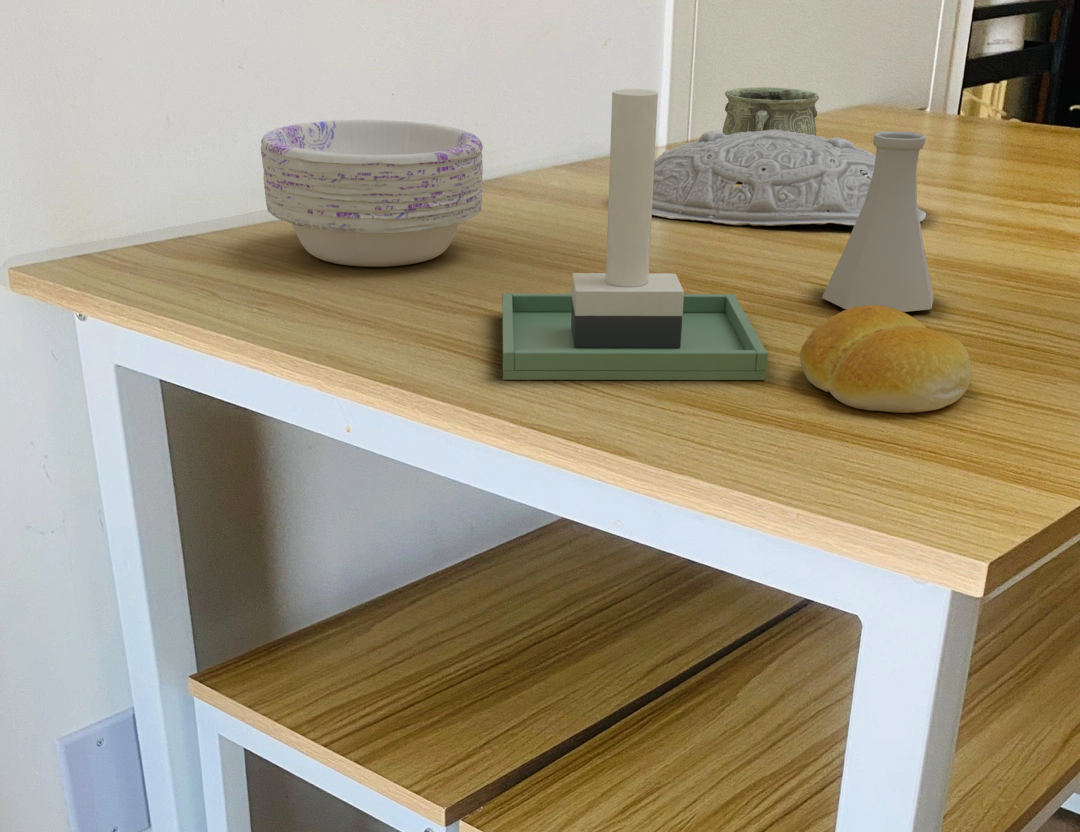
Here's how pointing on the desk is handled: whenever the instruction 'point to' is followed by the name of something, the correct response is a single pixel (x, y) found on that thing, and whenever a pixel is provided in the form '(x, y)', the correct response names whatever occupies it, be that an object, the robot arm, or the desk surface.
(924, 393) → the bread roll
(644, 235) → the brush
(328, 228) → the paper bowls
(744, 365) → the tray
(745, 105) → the vessel
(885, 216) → the flask
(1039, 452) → the desk surface
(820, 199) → the grey carved stone ornament
